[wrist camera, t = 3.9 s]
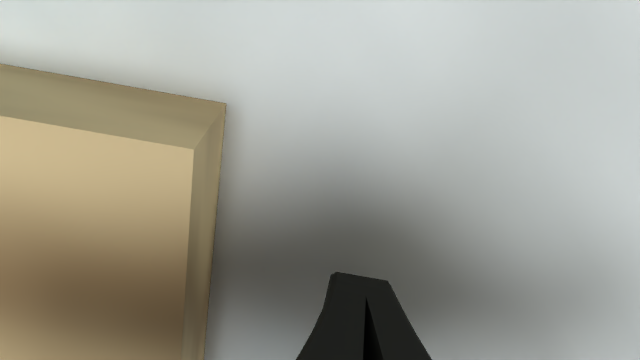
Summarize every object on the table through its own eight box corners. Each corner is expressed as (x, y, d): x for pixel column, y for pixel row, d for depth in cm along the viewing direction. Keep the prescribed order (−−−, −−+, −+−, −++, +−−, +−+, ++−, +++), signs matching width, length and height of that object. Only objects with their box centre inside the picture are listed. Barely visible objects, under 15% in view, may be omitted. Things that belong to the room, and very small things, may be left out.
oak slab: (206, 355, 15) (175, 447, 13) (-65, 311, 15) (-156, 394, 12) (229, 98, 12) (193, 149, 9) (-125, 35, 11) (-271, 68, 9)
